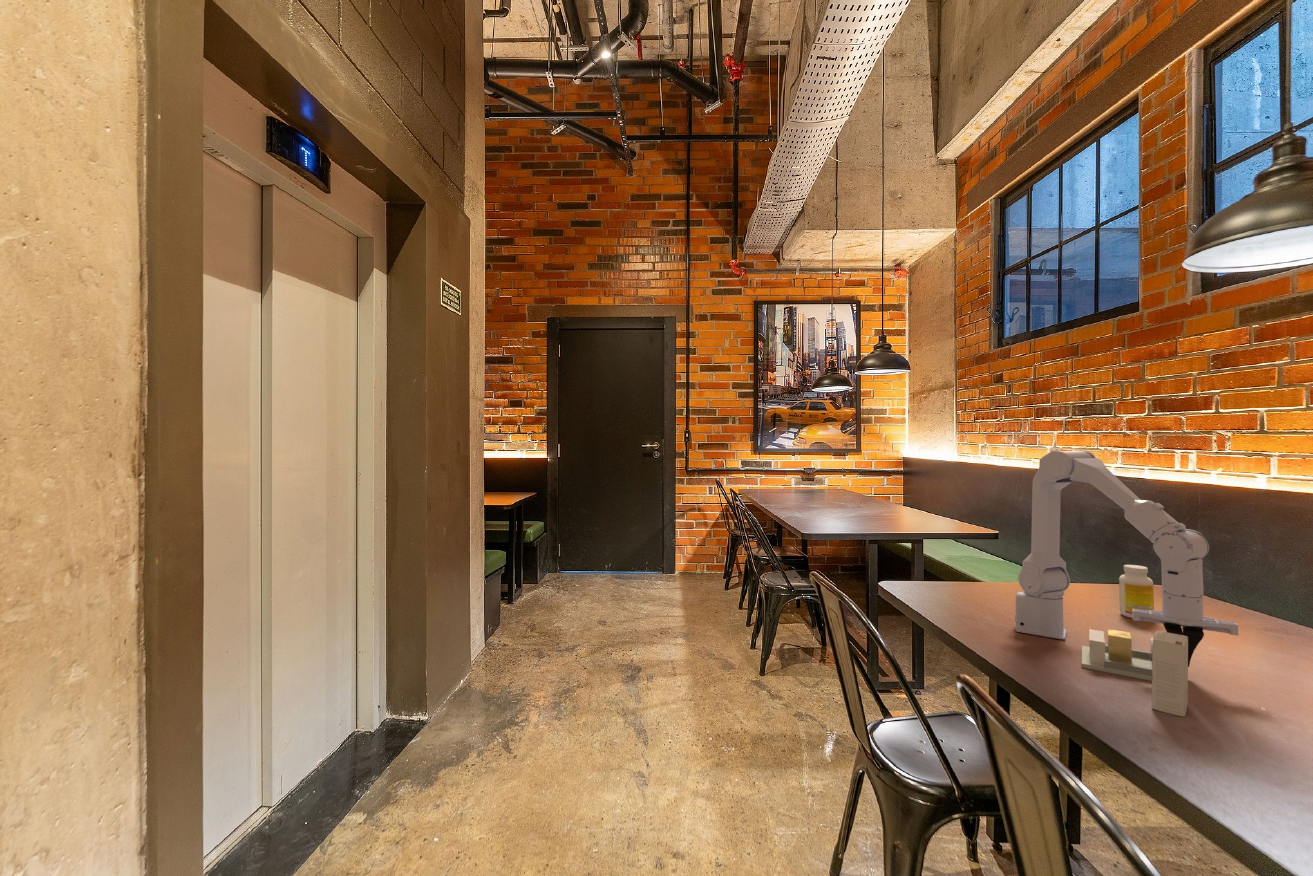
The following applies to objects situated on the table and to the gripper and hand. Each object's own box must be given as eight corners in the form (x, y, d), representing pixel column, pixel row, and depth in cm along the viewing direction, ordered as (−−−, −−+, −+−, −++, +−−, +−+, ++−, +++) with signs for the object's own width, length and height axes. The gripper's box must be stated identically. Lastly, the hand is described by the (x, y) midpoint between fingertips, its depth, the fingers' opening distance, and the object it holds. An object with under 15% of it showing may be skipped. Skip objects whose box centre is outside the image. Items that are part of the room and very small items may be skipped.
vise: (1081, 667, 109) (1081, 641, 109) (1082, 649, 119) (1081, 625, 119) (1177, 686, 101) (1177, 657, 101) (1169, 664, 110) (1169, 639, 110)
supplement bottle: (1160, 621, 136) (1159, 570, 136) (1130, 620, 137) (1129, 569, 138) (1142, 613, 143) (1141, 564, 143) (1113, 611, 144) (1112, 563, 144)
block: (1109, 662, 110) (1108, 635, 110) (1108, 655, 113) (1107, 629, 113) (1132, 666, 107) (1131, 638, 107) (1130, 659, 111) (1129, 632, 111)
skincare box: (1154, 697, 96) (1153, 629, 96) (1190, 706, 93) (1188, 635, 93) (1151, 709, 92) (1149, 638, 92) (1188, 719, 89) (1186, 644, 89)
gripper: (1133, 592, 106) (1135, 662, 106) (1241, 605, 97) (1243, 681, 97) (1131, 584, 111) (1132, 650, 111) (1232, 596, 102) (1234, 668, 102)
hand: (1183, 664), depth 104 cm, fingers closed
